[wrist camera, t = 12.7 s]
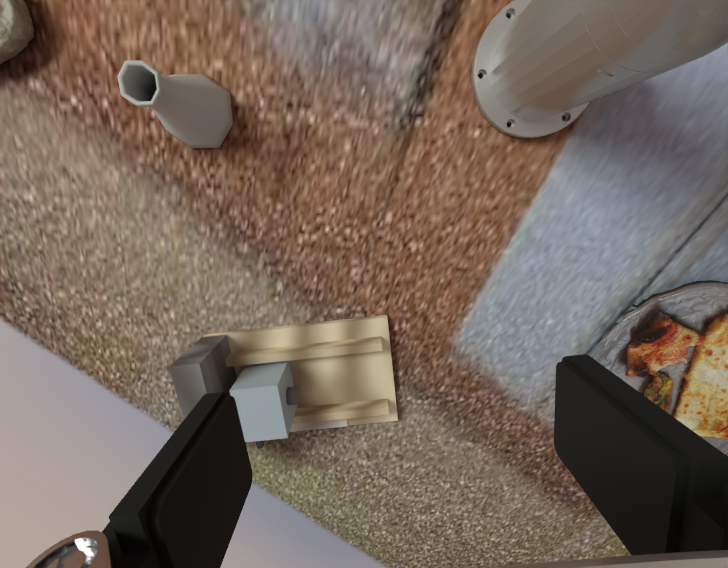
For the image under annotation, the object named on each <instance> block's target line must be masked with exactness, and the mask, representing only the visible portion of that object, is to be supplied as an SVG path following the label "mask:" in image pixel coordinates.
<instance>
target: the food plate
mask: <svg viewBox="0 0 728 568" xmlns="http://www.w3.org/2000/svg"><path fill="white" fill-rule="evenodd" d="M633 306H634V304H633ZM634 307H638V308H637V309H636V310H635V309H632V310H630V311H628V312H626V313H625V314H624V318H623V320H622V321H621V322H620V323H615V324H614V325H612V327H611V328H610V330H609V332H608V333H607V336H606V337H605V340H604V341H605V342H604V341H603V342H604V345H603V346H602V348H601V350H600V353H599V354H600V355H599V356H598V359H597V362H598V363H600V364H601V365H603V366H604V367H605V368H607V369H608V370H609V371H613V372H612V373H614V374H615V375H616V376H618V377H619V376H622V380H623V381H625V382H626V383H627V384H629V385H630V386H631V387H633V388H634V389H636V390H637V391H638V392H640V393H641V394H642V395H644V396H645V397H647V398H648V399H649V400H651V401H652V402H654V403H655V404H656V405H658V406H659V407H660V408H662V409H663V410H665V411H666V412H667V411H668V409H671V410H670V412H669V414H670V415H671V416H673V417H674V418H676V419H677V420H678V421H680V422H681V423H682V424H684V425H685V426H687V427H688V428H689V429H691V430H692V431H693V432H695V433H696V434H698V435H699V436H700V437H702V438H703V439H705V440H706V441H707V442H709V443H710V444H711V445H713V446H714V447H716V448H717V449H718V450H720V451H721V452H722V453H724V454H725V453H727V452H728V283H727V282H720V281H711V280H709V281H696V282H692V283H688V284H684V285H682V286H680V287H678V288H675V289H672V290H669V291H666V292H663V293H657V294H653V295H652V296H650V297H649V298H648V299H646V300H643V301H642V302H641V303H640V304H638V306H637V305H635V306H634ZM603 342H602V343H603ZM614 362H615V363H616V364H615V365H614ZM617 369H619V372H620V373H621V374H619V372H617V371H616V370H617ZM625 378H626V380H625ZM643 387H644V388H643ZM673 395H674V396H673ZM671 400H672V401H671ZM670 404H671V408H670Z"/></svg>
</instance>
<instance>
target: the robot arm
mask: <svg viewBox="0 0 728 568" xmlns="http://www.w3.org/2000/svg"><path fill="white" fill-rule="evenodd" d="M506 15H507V16H509V19H508V18H507V17H506ZM726 43H728V0H514V1H512V2H511V3H510V4H508V5H507V6H505V7H504V8H503V9H502V10H501V11H500V12H499V13H498V14H497V15H496V16H495V17H494V18H493V20H492V21H491V22H490V24H489V25H488V26H487V28H486V29H485V31H484V33H483V34H482V36H481V38H480V40H479V42H478V45H477V48H476V50H475V53H474V58H473V63H472V76H471V82H472V88H473V94H474V97H475V100H476V103H477V105H478V107H479V109H480V111H481V112H482V114H483V116H484V117H485V118H486V119H487V120H488V121H489V123H490V124H491V125H492V126H494V127H495V128H497V129H498V130H499V131H501V132H503V133H505V134H508V135H510V136H513V137H518V138H537V137H542V136H546V135H549V134H552V133H555V132H557V131H559V130H561V129H562V128H564V127H566V126H568V125H569V124H570V123H571V122H573V121H574V120H575V119H577V118H578V117H579V115H580V114H581V113H582V112H583V111H584V110H585V109H586V108H587V106H588V105H589V103H590V102H591V101H593V100H595V99H598V98H600V97H603V96H606V95H608V94H611V93H613V92H616V91H618V90H621V89H623V88H626V87H628V86H631V85H633V84H636V83H639V82H641V81H644V80H646V79H649V78H651V77H654V76H656V75H659V74H661V73H664V72H666V71H669V70H671V69H674V68H676V67H678V66H681V65H683V64H686V63H688V62H691V61H693V60H696V59H698V58H700V57H703V56H705V55H707V54H709V53H711V52H713V51H714V50H716V49H718V48H720V47H721V46H723V45H724V44H726ZM478 74H480V75H481V76H482V78H481V79H480V78H479V77H478ZM562 117H563V118H564V119H563V120H562ZM507 123H509V124H510V126H509V128H508V127H507ZM554 446H555V450H556V452H557V454H558V456H559V458H560V459H561V460H562V462H563V463H564V464H565V466H566V467H567V468H568V470H569V471H570V472H571V474H572V475H573V476H574V478H575V479H576V480H577V482H578V483H579V485H580V486H581V487H582V489H583V490H584V491H585V493H586V494H587V495H588V497H589V498H590V499H591V501H592V502H593V503H594V505H595V506H596V508H597V509H598V510H599V512H600V513H601V514H602V516H603V517H604V518H605V520H606V521H607V522H608V524H609V525H610V526H611V528H612V529H613V530H614V532H615V533H616V535H617V536H618V537H619V539H620V540H621V541H622V543H623V544H624V545H625V547H626V548H627V549H628V551H629V552H630V553H631V556H619V557H607V558H595V559H583V560H570V561H558V562H546V563H534V564H522V565H510V566H498V567H487V568H728V456H727V455H725V454H724V453H722V452H721V451H720V450H718V449H717V448H716V447H714V446H713V445H711V444H710V443H709V442H707V441H706V440H705V439H703V438H702V437H700V436H699V435H698V434H696V433H695V432H693V431H692V430H691V429H689V428H688V427H687V426H685V425H684V424H682V423H681V422H680V421H678V420H677V419H676V418H674V417H673V416H671V415H670V414H669V413H667V412H666V411H665V410H663V409H662V408H660V407H659V406H658V405H656V404H655V403H654V402H652V401H651V400H649V399H648V398H647V397H645V396H644V395H642V394H641V393H640V392H638V391H637V390H636V389H634V388H633V387H631V386H630V385H629V384H627V383H626V382H625V381H623V380H622V379H620V378H619V377H618V376H616V375H615V374H614V373H612V372H611V371H609V370H608V369H607V368H605V367H604V366H603V365H601V364H600V363H598V362H597V361H596V360H594V359H593V358H591V357H590V356H588V355H574V356H565V357H564V358H563V359H562V362H559V363H558V364H557V366H556V392H555V422H554ZM251 484H252V469H251V465H250V461H249V456H248V452H247V448H246V444H245V440H244V435H243V431H242V427H241V423H240V418H239V414H238V410H237V406H236V401H235V398H234V397H233V396H229V395H228V393H227V392H217V393H207V394H204V395H203V396H202V398H201V399H200V400H199V402H198V403H197V404H196V405H195V407H194V408H193V409H192V410H191V412H190V413H189V414H188V416H187V417H186V418H185V419H184V421H183V422H182V423H181V425H180V426H179V427H178V428H177V430H176V431H175V432H174V434H173V435H172V436H171V437H170V439H169V440H168V441H167V443H166V444H165V445H164V446H163V448H162V449H161V450H160V452H159V453H158V454H157V455H156V457H155V458H154V459H153V461H152V462H151V463H150V464H149V466H148V467H147V468H146V470H145V471H144V472H143V473H142V475H141V476H140V477H139V478H138V480H137V481H136V482H135V484H134V485H133V486H132V487H131V489H130V490H129V491H128V493H127V494H126V495H125V497H124V498H123V499H122V500H121V502H120V503H119V504H118V505H117V507H116V508H115V509H114V511H113V512H112V513H111V514H110V516H109V519H110V522H109V524H108V525H107V526H106V528H105V529H104V530H103V531H102V533H101V532H99V531H85V532H82V533H78V534H75V535H72V536H70V537H68V538H66V539H64V540H61V541H60V542H58V543H57V544H55V545H53V546H52V547H50V548H49V549H47V550H46V551H44V552H43V553H42V554H41V555H39V556H38V557H37V558H36V559H34V560H33V561H32V562H31V563H30V564H29V565H28V566H27V567H26V568H220V566H221V564H222V561H223V558H224V556H225V553H226V550H227V548H228V545H229V543H230V540H231V537H232V534H233V532H234V529H235V527H236V524H237V522H238V519H239V516H240V514H241V511H242V508H243V506H244V503H245V500H246V497H247V495H248V492H249V490H250V487H251Z"/></svg>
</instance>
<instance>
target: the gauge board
mask: <svg viewBox="0 0 728 568" xmlns="http://www.w3.org/2000/svg"><path fill="white" fill-rule="evenodd" d="M281 361H290V366H291V371H292V377H293V382H294V386H298V387H299V390H300V403H299V404H298V406H297V409H296V412H295V416H294V419H293V422H292V426H291V429H290V432H296V431H306V430H316V429H326V428H336V427H346V426H349V425H359V424H369V423H379V422H389V421H398V417H397V407H396V397H395V387H394V377H393V368H392V358H391V348H390V338H389V328H388V318H387V315H381V316H372V317H362V318H353V319H344V320H335V321H325V322H316V323H307V324H297V325H288V326H279V327H270V328H260V329H251V330H242V331H232V332H223V333H214V334H205V335H204V336H203V337H201V338H200V339H199V340H198V341H197V342H196V343H195V344H194V345H193V346H192V347H190V348H189V349H188V350H187V351H186V352H185V353H184V354H183V355H182V356H181V357H179V358H178V359H177V360H176V361H175V362H174V363H173V364H172V365H171V366H170V367H169V368H170V372H171V375H172V379H173V382H174V386H175V389H176V393H177V396H178V400H179V403H180V407H181V411H182V414H183V418H184V419H185V418H186V417H187V416H188V414H189V413H190V412H191V410H192V409H193V408H194V407H195V405H196V404H197V403H198V402H199V400H200V399H201V398H202V396H203V395H204V394H207V393H217V392H227V393H228V395H229V396H231V395H230V391H229V390H230V389H231V387H232V386H233V384H234V383H235V381H236V380H237V378H238V377H239V375H240V374H241V372H242V371H243V369H244V368H245V366H246V365H252V364H261V363H271V362H281ZM246 443H247V442H245V444H246Z"/></svg>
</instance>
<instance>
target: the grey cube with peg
mask: <svg viewBox="0 0 728 568" xmlns="http://www.w3.org/2000/svg"><path fill="white" fill-rule="evenodd" d="M229 391H230V395H231V396H233V397H234V398H235V401H236V406H237V410H238V414H239V418H240V423H241V427H242V431H243V435H244V440H245V442H254V441H256V444H257V448H262V447H263V445H264V443H263V441H264V440H274V439H284V438H288V435H289V432H290V429H291V426H292V422H293V419H294V416H295V412H296V409H297V406H298V404H299V403H300V390H299V387H298V386H294V382H293V377H292V371H291V366H290V361H281V362H271V363H261V364H252V365H246V366H245V368H244V369H243V371H242V372H241V374H240V375H239V377H238V378H237V380H236V381H235V383H234V384H233V386H232V387H231V389H230V390H229Z"/></svg>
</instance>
